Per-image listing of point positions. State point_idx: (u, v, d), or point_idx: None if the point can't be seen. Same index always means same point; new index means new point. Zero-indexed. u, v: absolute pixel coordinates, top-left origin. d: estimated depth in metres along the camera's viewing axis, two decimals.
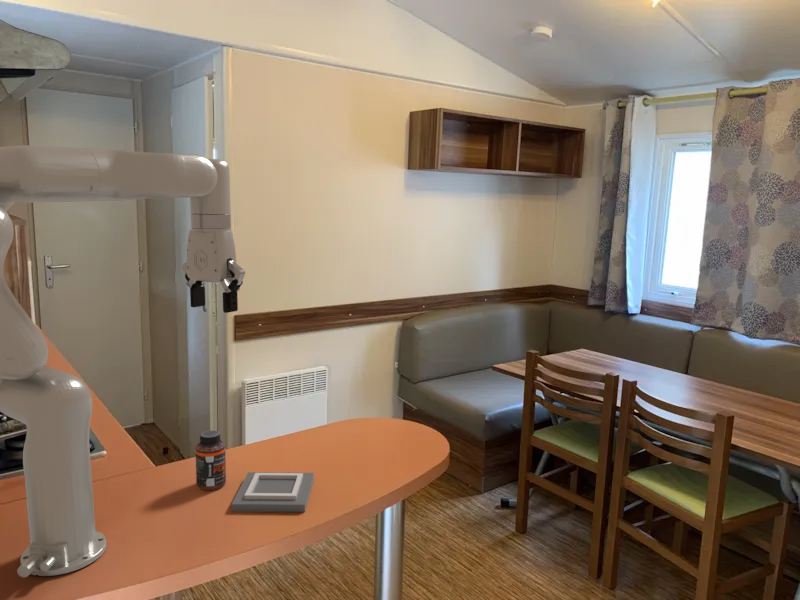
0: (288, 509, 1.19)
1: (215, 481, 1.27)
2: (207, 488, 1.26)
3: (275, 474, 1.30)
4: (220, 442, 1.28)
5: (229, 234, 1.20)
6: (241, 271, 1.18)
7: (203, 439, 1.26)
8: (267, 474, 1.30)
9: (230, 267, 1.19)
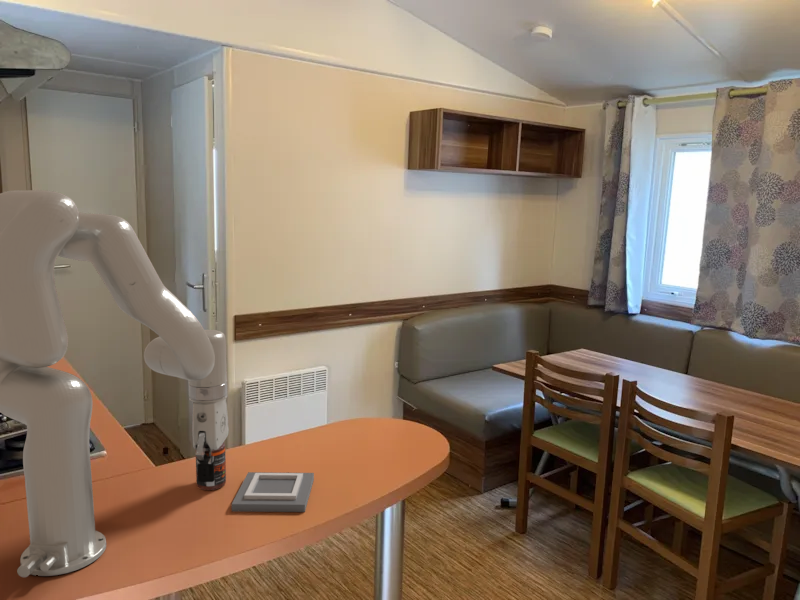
0: (288, 509, 1.19)
1: (215, 480, 1.27)
2: (207, 488, 1.26)
3: (275, 474, 1.30)
4: None
5: None
6: None
7: None
8: (267, 474, 1.30)
9: None
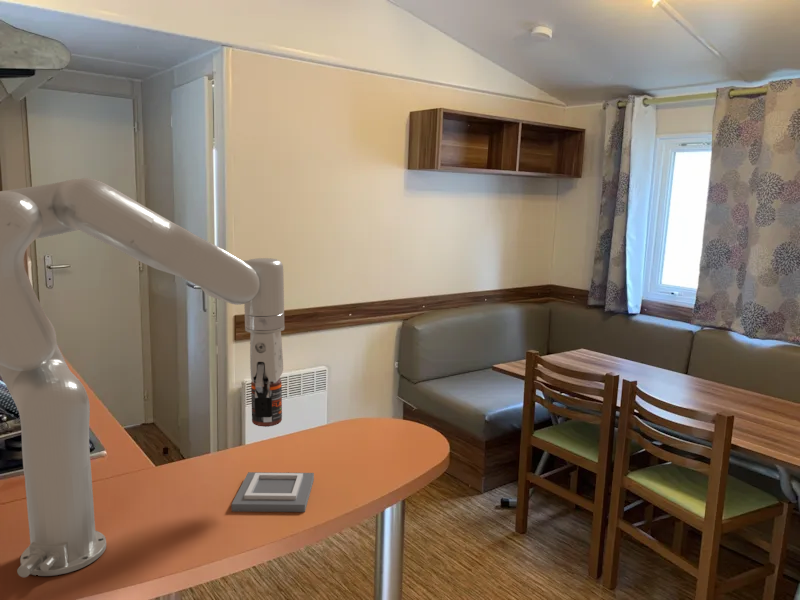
0: (288, 509, 1.19)
1: (272, 416, 1.21)
2: (264, 424, 1.21)
3: (275, 474, 1.30)
4: None
5: None
6: None
7: None
8: (267, 474, 1.30)
9: None
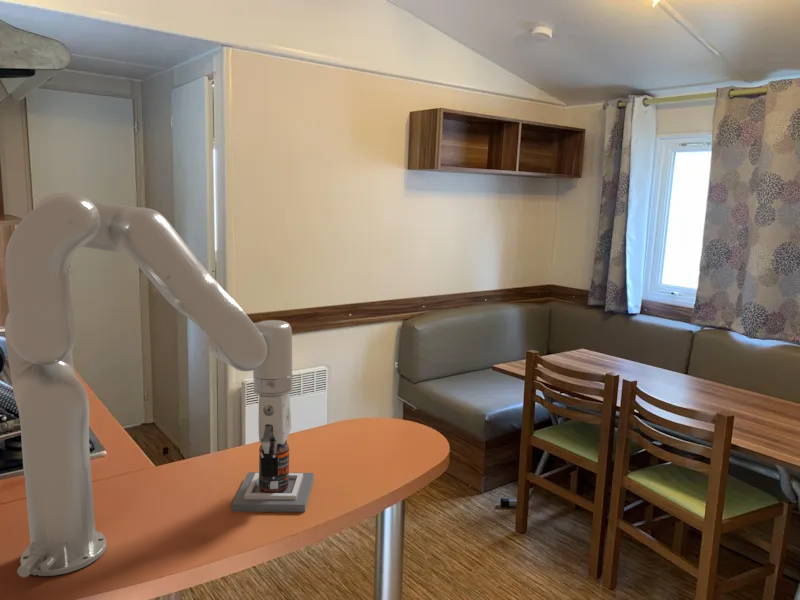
0: (288, 509, 1.19)
1: (279, 483, 1.23)
2: (270, 491, 1.22)
3: None
4: (284, 444, 1.24)
5: None
6: None
7: None
8: None
9: None
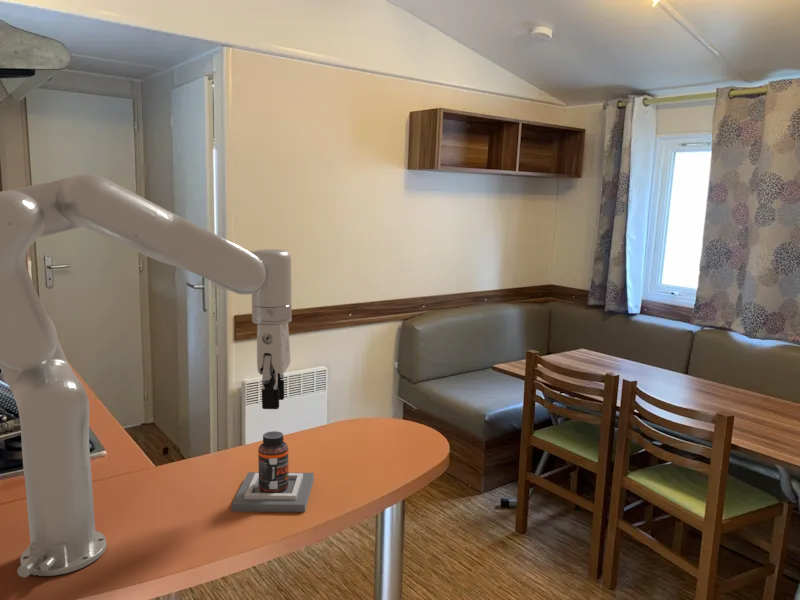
0: (288, 509, 1.19)
1: (278, 483, 1.23)
2: (270, 491, 1.22)
3: None
4: (283, 444, 1.24)
5: None
6: None
7: (266, 441, 1.22)
8: None
9: None
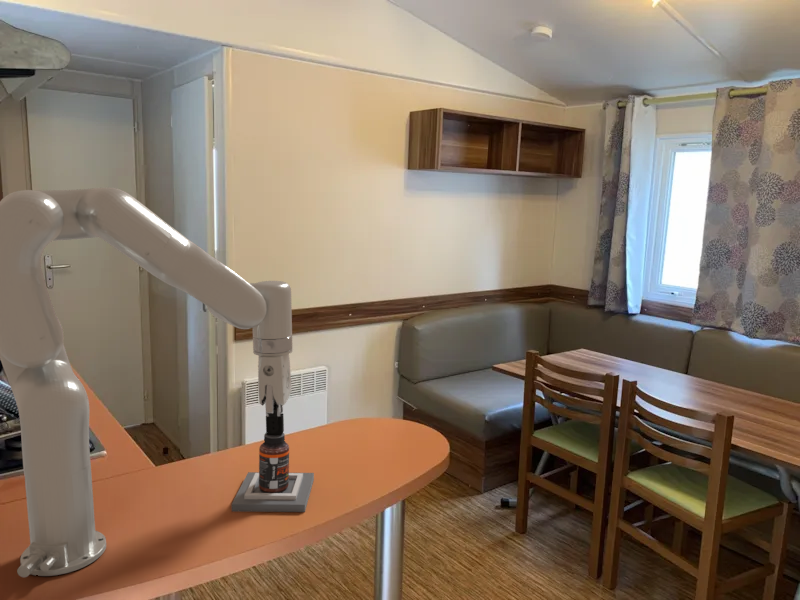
0: (288, 509, 1.19)
1: (278, 483, 1.23)
2: (270, 490, 1.22)
3: None
4: (284, 443, 1.24)
5: None
6: None
7: (267, 440, 1.22)
8: None
9: None
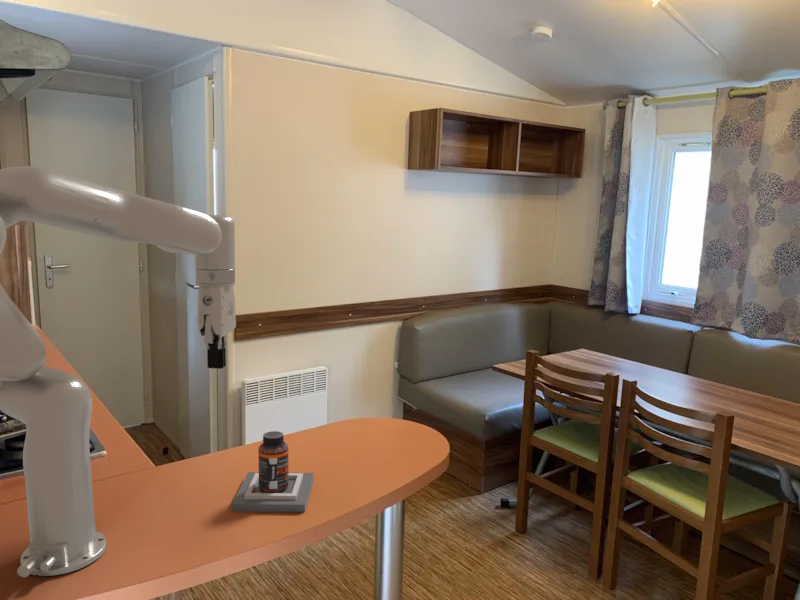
0: (288, 509, 1.19)
1: (278, 483, 1.23)
2: (270, 491, 1.22)
3: None
4: (283, 443, 1.24)
5: None
6: None
7: (266, 440, 1.22)
8: None
9: None
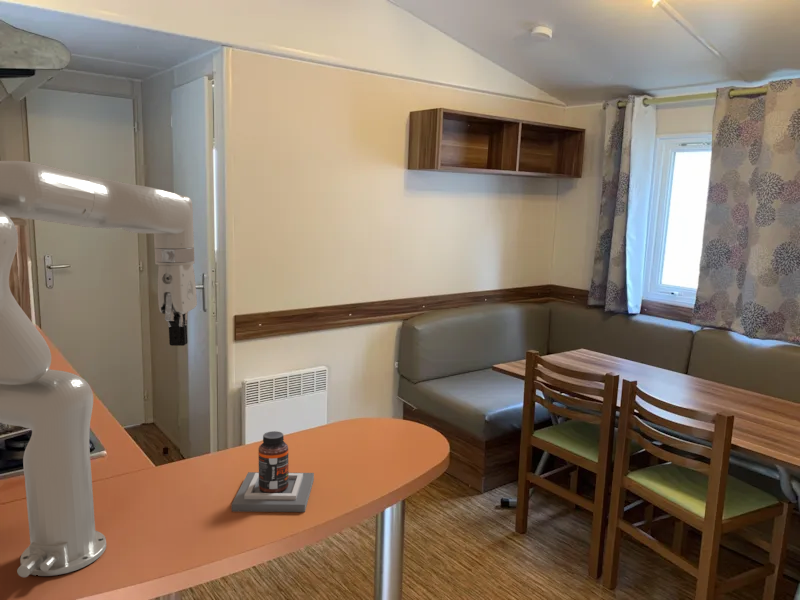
0: (288, 509, 1.19)
1: (278, 483, 1.23)
2: (270, 491, 1.22)
3: None
4: (283, 444, 1.24)
5: None
6: None
7: (266, 440, 1.22)
8: None
9: None
